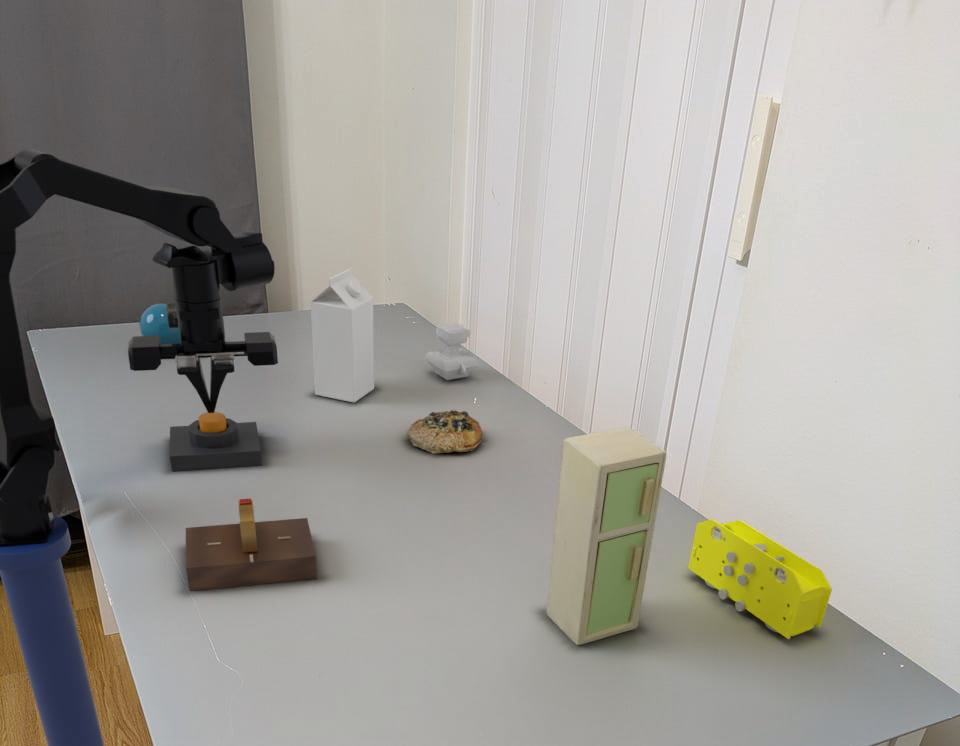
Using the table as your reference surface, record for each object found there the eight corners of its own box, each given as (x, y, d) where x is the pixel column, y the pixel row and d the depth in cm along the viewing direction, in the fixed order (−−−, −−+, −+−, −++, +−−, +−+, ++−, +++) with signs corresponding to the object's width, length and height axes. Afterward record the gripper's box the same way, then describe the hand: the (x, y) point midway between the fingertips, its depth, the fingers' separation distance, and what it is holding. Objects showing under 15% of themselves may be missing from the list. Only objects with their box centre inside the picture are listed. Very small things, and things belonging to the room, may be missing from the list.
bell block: (171, 471, 128) (167, 443, 126) (172, 440, 136) (168, 414, 134) (262, 465, 131) (259, 438, 129) (257, 435, 139) (255, 410, 136)
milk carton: (314, 395, 152) (308, 275, 142) (336, 381, 158) (332, 264, 147) (354, 403, 150) (350, 282, 140) (374, 389, 156) (372, 271, 145)
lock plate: (189, 591, 104) (185, 567, 102) (188, 549, 111) (185, 526, 110) (317, 579, 107) (315, 555, 106) (308, 539, 115) (307, 516, 113)
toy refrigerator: (579, 651, 98) (603, 467, 87) (543, 614, 104) (562, 436, 92) (642, 633, 102) (673, 453, 90) (604, 598, 107) (629, 424, 95)
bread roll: (464, 419, 147) (466, 390, 143) (494, 457, 139) (497, 428, 136) (397, 431, 143) (397, 402, 139) (425, 471, 135) (426, 441, 132)
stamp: (421, 370, 164) (422, 322, 159) (454, 365, 167) (456, 317, 163) (447, 388, 158) (449, 338, 153) (481, 381, 161) (483, 332, 156)
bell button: (200, 434, 129) (198, 422, 128) (199, 424, 132) (198, 412, 131) (227, 433, 130) (226, 421, 129) (226, 422, 133) (224, 411, 132)
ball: (144, 343, 169) (137, 298, 164) (190, 341, 171) (185, 297, 166) (142, 358, 163) (134, 312, 158) (190, 357, 164) (184, 310, 160)
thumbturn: (257, 551, 106) (254, 518, 104) (243, 552, 106) (239, 519, 103) (255, 530, 110) (252, 497, 108) (241, 531, 110) (237, 498, 107)
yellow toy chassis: (683, 575, 112) (696, 512, 107) (719, 563, 114) (733, 502, 110) (783, 646, 101) (802, 580, 96) (820, 632, 103) (840, 567, 99)
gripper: (267, 278, 130) (275, 387, 138) (123, 281, 125) (141, 393, 134) (273, 302, 121) (282, 416, 130) (119, 306, 116) (139, 424, 125)
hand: (211, 411), depth 130 cm, fingers closed
